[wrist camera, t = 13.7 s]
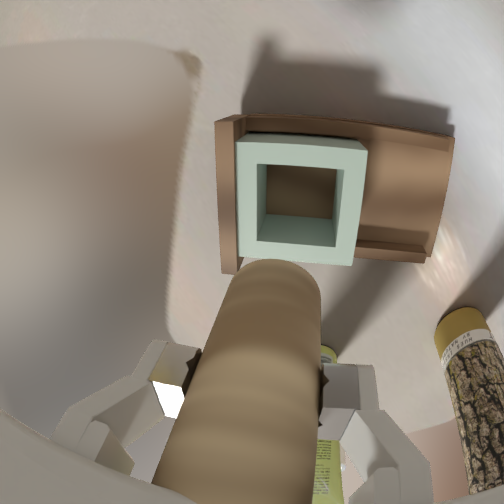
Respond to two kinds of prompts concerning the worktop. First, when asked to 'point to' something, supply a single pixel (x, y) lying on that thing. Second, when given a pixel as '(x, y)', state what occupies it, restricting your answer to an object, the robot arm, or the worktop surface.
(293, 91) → the worktop surface
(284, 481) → the dowel
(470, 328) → the paper tube
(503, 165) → the worktop surface
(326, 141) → the socket block
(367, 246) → the wooden tray
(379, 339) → the worktop surface
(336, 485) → the tube
